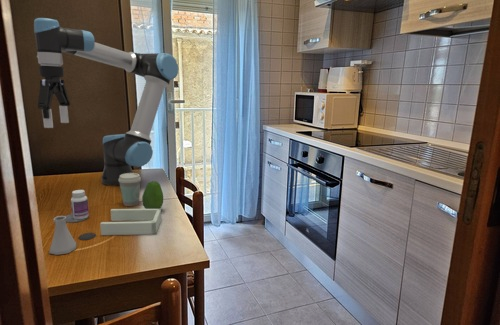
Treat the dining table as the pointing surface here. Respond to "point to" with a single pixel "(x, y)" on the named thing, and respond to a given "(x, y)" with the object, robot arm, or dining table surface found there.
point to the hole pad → (87, 236)
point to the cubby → (132, 227)
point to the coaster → (72, 220)
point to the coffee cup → (130, 188)
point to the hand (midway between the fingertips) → (57, 125)
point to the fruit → (152, 196)
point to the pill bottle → (79, 205)
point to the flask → (62, 238)
